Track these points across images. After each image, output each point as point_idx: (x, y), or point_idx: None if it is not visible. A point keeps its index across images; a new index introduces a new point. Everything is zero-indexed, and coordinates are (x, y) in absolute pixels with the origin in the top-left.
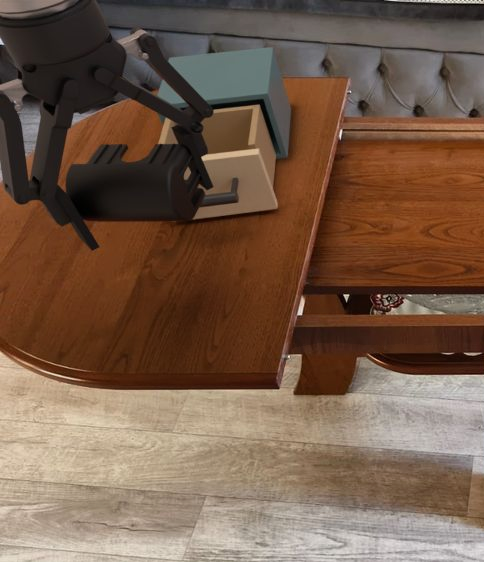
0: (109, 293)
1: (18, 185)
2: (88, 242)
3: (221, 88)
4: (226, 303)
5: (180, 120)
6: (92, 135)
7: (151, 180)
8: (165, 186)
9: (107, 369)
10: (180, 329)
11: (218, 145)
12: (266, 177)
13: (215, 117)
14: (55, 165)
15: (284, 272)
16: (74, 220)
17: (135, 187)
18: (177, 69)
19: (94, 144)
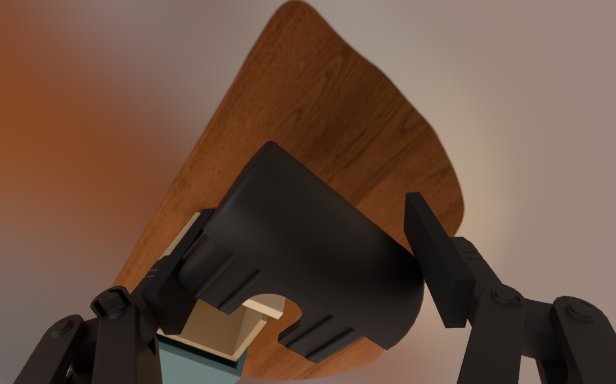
0: (374, 214)
1: (605, 353)
2: (422, 201)
3: (168, 364)
4: (291, 128)
5: (122, 337)
6: (305, 370)
7: (271, 218)
8: (251, 185)
9: (424, 125)
10: (344, 126)
11: (213, 307)
12: (176, 237)
13: (192, 335)
14: (481, 365)
15: (222, 128)
16: (443, 232)
17: (311, 227)
18: None
19: (308, 362)
